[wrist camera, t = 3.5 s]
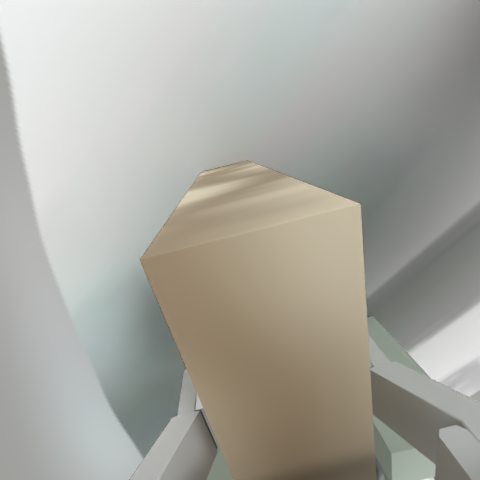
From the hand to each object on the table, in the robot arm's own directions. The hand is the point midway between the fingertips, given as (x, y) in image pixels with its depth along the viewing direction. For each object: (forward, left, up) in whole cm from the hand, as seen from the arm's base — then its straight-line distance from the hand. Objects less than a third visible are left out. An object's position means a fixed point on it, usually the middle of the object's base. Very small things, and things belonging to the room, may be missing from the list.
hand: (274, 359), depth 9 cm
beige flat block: (0, 0, -10) cm, 10 cm away
